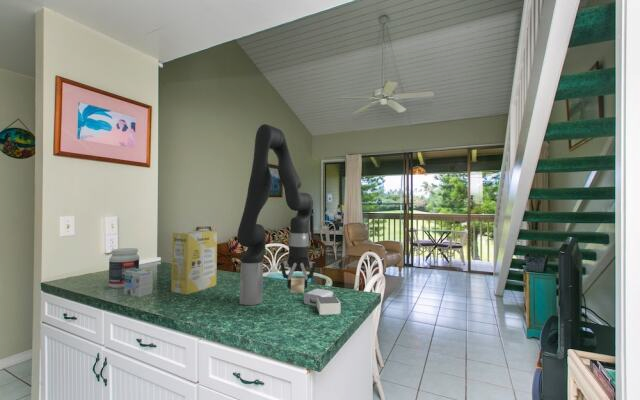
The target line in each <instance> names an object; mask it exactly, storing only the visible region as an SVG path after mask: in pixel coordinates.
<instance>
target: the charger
mask: <svg viewBox="0 0 640 400" xmlns="http://www.w3.org/2000/svg"><path fill="white" fill-rule="evenodd" d="M318 297H334V292H333V291H332V290H327V289H322V288H315V289H313V290H309V291H307V292H304V293H303V303H304V305H309V306H313V307H317V298H318Z"/></svg>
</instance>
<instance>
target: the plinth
mask: <svg viewBox="0 0 640 400" xmlns="http://www.w3.org/2000/svg"><path fill="white" fill-rule="evenodd" d="M316 308H317V311H318V315H320V316H321V315H322V316H323V315H341V301H340V300H339V299H338V298H337V296H333V297H318V298H317V306H316Z"/></svg>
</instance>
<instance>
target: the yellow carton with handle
mask: <svg viewBox="0 0 640 400" xmlns="http://www.w3.org/2000/svg"><path fill="white" fill-rule="evenodd" d="M171 238H172V240H171V241H172V244H171V287H170V288H171V293H177V294H182V295H190V294H193V293H196V292H199V291H203V290H206V289H208V288H209V289H210V288H212V286H213V287H215V285H216V286H217V272H218V271H217V264H218V263H217V262H218V230H217V231H216V230H203V229H202V230H192V231H190V230H189V231H179V232H172V237H171Z"/></svg>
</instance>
